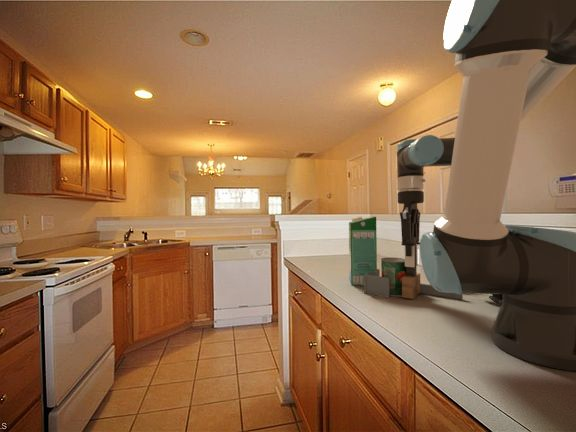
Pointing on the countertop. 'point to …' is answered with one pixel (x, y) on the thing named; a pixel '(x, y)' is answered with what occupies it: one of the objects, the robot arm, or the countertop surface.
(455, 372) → the countertop surface
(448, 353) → the countertop surface
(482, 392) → the countertop surface
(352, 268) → the milk carton
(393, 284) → the canned tomato
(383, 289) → the frame
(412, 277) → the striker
